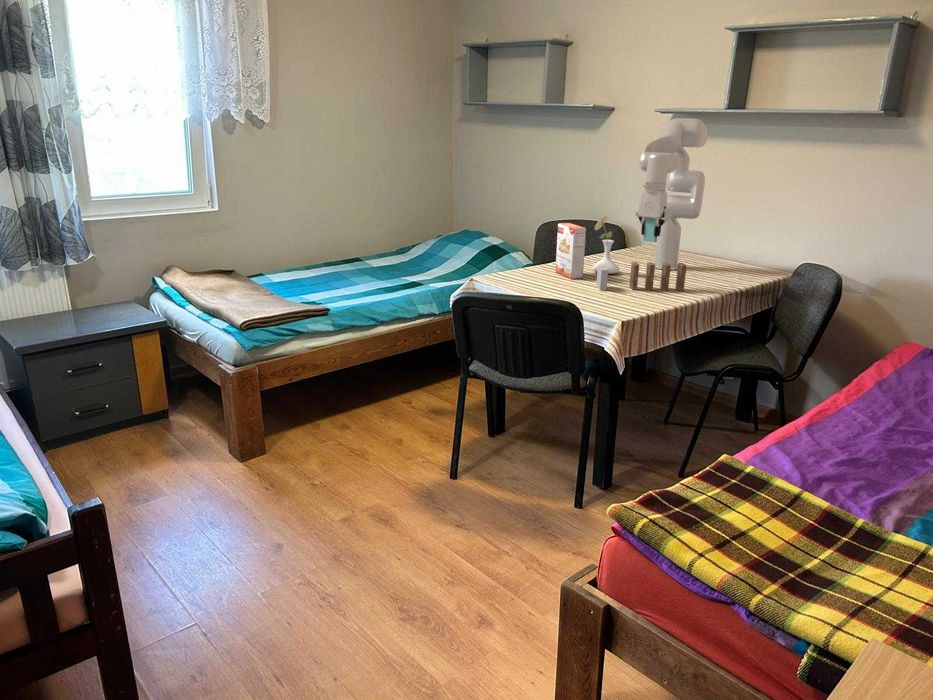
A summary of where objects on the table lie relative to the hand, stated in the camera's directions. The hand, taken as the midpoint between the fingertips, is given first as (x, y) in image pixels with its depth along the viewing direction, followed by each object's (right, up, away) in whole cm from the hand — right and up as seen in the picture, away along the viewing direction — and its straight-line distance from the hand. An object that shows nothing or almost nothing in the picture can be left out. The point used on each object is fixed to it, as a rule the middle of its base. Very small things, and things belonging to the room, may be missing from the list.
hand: (650, 234), depth 276 cm
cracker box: (-29, -14, +22) cm, 38 cm away
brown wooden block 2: (+11, -21, +1) cm, 24 cm away
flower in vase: (-13, -12, +27) cm, 32 cm away
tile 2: (+5, -21, +1) cm, 22 cm away
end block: (-19, -21, +1) cm, 28 cm away
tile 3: (-1, -21, +1) cm, 21 cm away
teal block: (0, -2, +1) cm, 2 cm away
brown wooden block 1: (-7, -21, +1) cm, 22 cm away
